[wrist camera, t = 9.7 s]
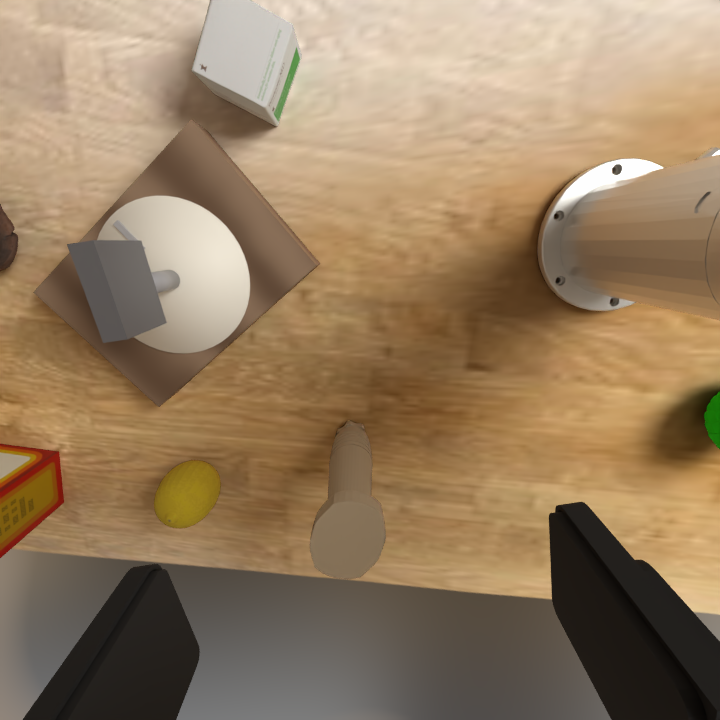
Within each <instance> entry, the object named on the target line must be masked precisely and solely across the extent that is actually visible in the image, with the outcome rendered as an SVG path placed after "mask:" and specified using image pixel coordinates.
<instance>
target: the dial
mask: <svg viewBox="0 0 720 720" xmlns="http://www.w3.org/2000/svg"><path fill="white" fill-rule="evenodd" d="M97 240H134V241H142V245H143V248H144V251H145V254H146V257H147V261H148V264H149V267H150V270H151V272H156V271H163V270H173V271H175V272H176V273H177V274H178V276H179V278H180V284H179V286H178V287H177V288H176V289H172V290H168V291H164V292H160V293H158V296H159V299H160V302H161V306H162V309H163V312H164V315H165V319H166V322H167V323H166V324H163V325H161V326H159V327H156V328H154V329H151V330H149V331H147V332H144V333H142V334H139V335H137V336H134V338H136V339H137V340H139V341H140V342H142V343H144V344H146V345H148V346H150V347H153V348H156V349H158V350H162V351H166V352H172V353H195V352H199V351H203V350H206V349H209V348H211V347H214V346H215V345H217V344H219V343H221V342H222V341H223V340H225V339H226V338H227V337H229V336H230V335H231V334H232V333H233V331H234V330H235V329H236V328H237V326H238V325H239V324H240V322H241V320H242V318H243V316H244V314H245V312H246V309H247V306H248V302H249V297H250V275H249V270H248V265H247V262H246V259H245V256H244V253H243V251H242V249H241V247H240V245H239V243H238V242H237V240H236V238H235V237H234V235H233V234H232V233H231V231H230V230H229V229H228V228H227V226H226V225H225V224H224V223H223V222H222V221H221V220H220V219H219V218H217V217H216V216H215V215H213V214H212V213H211V212H210V211H208V210H206V209H205V208H203V207H201V206H200V205H197V204H195V203H193V202H191V201H188V200H185V199H181V198H178V197H171V196H149V197H143V198H140V199H136V200H134V201H132V202H129V203H127V204H125V205H124V206H122V207H121V208H119V209H118V210H117V211H116V212H115V213H114V214H113V215H111V216H110V218H109V219H108V220H107V222H106V223H105V224H104V226H103V228H102V230H101V231H100V233H99V236H98V239H97Z"/></svg>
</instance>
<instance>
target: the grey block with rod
mask: <svg viewBox="0 0 720 720" xmlns="http://www.w3.org/2000/svg"><path fill="white" fill-rule="evenodd" d="M67 246H68V249H69V251H70V254H71V257H72V259H73V262H74V265H75V268H76V270H77V273H78V276H79V278H80V281H81V284H82V287H83V289H84V292H85V295H86V297H87V300H88V303H89V306H90V308H91V311H92V314H93V317H94V319H95V322H96V325H97V327H98V330H99V333H100V336H101V338H102V341H103V343H107V342H113V341H120V340H127V339H130V338H132V337H134V336H137V335H139V334H142V333H144V332H147V331H149V330H151V329H154V328H156V327H159V326H161V325H163V324H166V323H167V322H166V319H165V315H164V312H163V309H162V306H161V302H160V299H159V296H158V293H160V292H164V291H168V290H172V289H176V288H177V287H178V286H179V284H180V278H179V276H178V274H177V273H176V272H175V271H173V270H163V271H156V272H151V270H150V267H149V264H148V261H147V257H146V254H145V251H144V248H143V245H142V241H134V240H91V241H85V242H79V243H73V244H67Z"/></svg>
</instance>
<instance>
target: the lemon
mask: <svg viewBox="0 0 720 720" xmlns="http://www.w3.org/2000/svg"><path fill="white" fill-rule="evenodd" d="M220 487H221V482H220V477H219V474H218V473H217V471H216V469H215V468H214V467H213V466H212V465H210V464H209V463H206V462H204V461H199V460H191V461H187V462H183V463H181V464H179V465H178V466H176V467H174V468H173V469H172V470H171V471H170V472H169V473H168V474H167V475H166V476H165V477H164V478H163V480H162V481H161V483H160V485H159V487H158V489H157V491H156V494H155V499H154V509H155V512H156V515H157V517H158V518H159V519H160V521H161V522H163V523H164V524H165V525H167V526H169V527H173V528H187V527H190V526H192V525H195V524H196V523H198V522H199V521H201V520H202V519H203V518H204V517H205V516H206V515H207V514H208V513H209V512H210V511H211V509H212V508H213V507H214V505H215V504H216V501H217V499H218V496H219V494H220Z"/></svg>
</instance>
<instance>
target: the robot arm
mask: <svg viewBox="0 0 720 720" xmlns="http://www.w3.org/2000/svg"><path fill="white" fill-rule="evenodd" d="M612 170H613V172H612ZM554 214H556V219H555V220H554ZM537 253H538V261H539V267H540V269H541V272H542V275H543V278H544V279H545V281H546V283H547V284H548V286H549V288H550V289H551V290H552V291H553V292H554V293H555V294H556V295H557V296H558V297H559V298H561V299H562V300H564V301H565V302H567V303H569V304H571V305H574V306H577V307H579V308H583V309H587V310H592V311H610V310H617V309H620V308H623V307H627V306H630V305H632V304H634V303H636V302H637V303H642V304H646V305H651V306H656V307H660V308H665V309H670V310H674V311H679V312H683V313H688V314H693V315H697V316H702V317H706V318H711V319H716V320H720V149H719V148H716V147H711V148H710V149H708V150H707V151H705V152H704V153H703V154H701V155H700V156H699V157H698V158H696V159H695V160H694V161H690V162H686V163H682V164H678V165H674V166H670V167H666V168H664V167H662V166H661V165H658V164H656V163H654V162H651V161H649V160H643V159H638V158H624V159H617V160H613V161H609V162H605V163H602V164H599V165H597V166H594V167H592V168H590V169H588V170H586V171H584V172H583V173H581V174H579V175H578V176H577V177H575V178H574V179H573V180H572V181H570V182H569V183H568V184H567V185H566V186H565V187H564V188H563V189H562V190H561V191H560V192H559V194H558V195H557V196H556V197H555V199H554V200H553V202H552V203H551V205H550V207H549V208H548V210H547V212H546V214H545V217H544V219H543V221H542V224H541V228H540V232H539V236H538V249H537ZM556 278H558V281H557V282H555V281H556ZM549 530H550V556H551V582H552V601H553V605H554V609H555V612H556V614H557V616H558V618H559V620H560V622H561V624H562V626H563V628H564V630H565V632H566V634H567V636H568V638H569V639H570V641H571V643H572V645H573V647H574V649H575V651H576V653H577V655H578V657H579V659H580V660H581V662H582V664H583V666H584V668H585V670H586V672H587V674H588V676H589V678H590V679H591V681H592V683H593V685H594V687H595V689H596V691H597V693H598V695H599V697H600V699H601V700H602V702H603V704H604V706H605V708H606V710H607V712H608V714H609V716H610V718H611V719H612V720H720V641H719V640H718V639H717V638H716V637H715V636H714V635H713V634H712V633H711V632H710V630H708V628H707V627H706V626H705V625H704V624H703V623H702V622H701V620H700V619H699V618H698V617H697V616H696V615H695V614H694V613H693V611H692V610H691V609H690V608H689V607H688V606H687V605H686V604H685V603H684V601H683V600H682V599H681V598H680V597H679V596H678V595H677V594H676V593H675V591H674V590H673V589H672V588H671V587H670V586H669V585H668V584H667V583H666V581H665V580H664V579H663V578H662V577H661V576H660V575H659V574H658V572H657V571H656V570H655V569H654V568H653V567H652V566H650V565H649V564H648V563H647V562H645V561H643V560H634V559H633V558H632V557H631V555H630V554H629V553H628V552H627V551H626V550H625V548H624V547H623V546H622V545H621V544H620V543H619V541H618V540H617V539H616V538H615V537H614V536H613V534H612V533H611V532H610V531H609V530H608V529H607V528H606V526H605V525H604V524H603V523H602V522H601V521H600V519H599V518H598V517H597V516H596V515H595V514H594V512H593V511H592V510H591V509H590V508H589V507H588V506H587V505H586V504H585V503H584V502H577V503H570V504H563V505H558V506H556V510H555V513H550V515H549ZM198 660H199V645H198V643H197V640H196V638H195V636H194V634H193V631H192V629H191V626H190V624H189V621H188V619H187V617H186V615H185V612H184V610H183V607H182V605H181V603H180V600H179V598H178V595H177V593H176V591H175V589H174V586H173V584H172V581H171V579H170V577H169V574H168V572H167V571H166V570H165V569H163V570H162V568H161V567H160V566H159V565H158V564H152V565H146V566H139V567H133V568H131V569H130V570H129V571H128V572H127V573H126V575H125V576H124V577H123V579H122V580H121V582H120V583H119V585H118V586H117V587H116V589H115V590H114V592H113V593H112V594H111V596H110V597H109V599H108V600H107V601H106V603H105V604H104V606H103V607H102V608H101V610H100V611H99V613H98V614H97V616H96V617H95V618H94V620H93V621H92V623H91V624H90V625H89V627H88V628H87V630H86V631H85V632H84V634H83V635H82V637H81V638H80V640H79V641H78V642H77V644H76V645H75V647H74V648H73V649H72V651H71V652H70V654H69V655H68V656H67V658H66V659H65V661H64V662H63V664H62V665H61V666H60V668H59V669H58V671H57V672H56V673H55V675H54V676H53V678H52V679H51V680H50V682H49V683H48V685H47V686H46V687H45V689H44V690H43V692H42V693H41V695H40V696H39V698H38V699H37V700H36V702H35V703H34V704H33V706H32V707H31V709H30V710H29V711H28V713H27V714H26V716H25V717H24V718H23V720H176V718H177V716H178V713H179V710H180V708H181V705H182V703H183V700H184V698H185V695H186V693H187V690H188V687H189V685H190V682H191V680H192V677H193V675H194V672H195V669H196V667H197V664H198Z"/></svg>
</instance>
